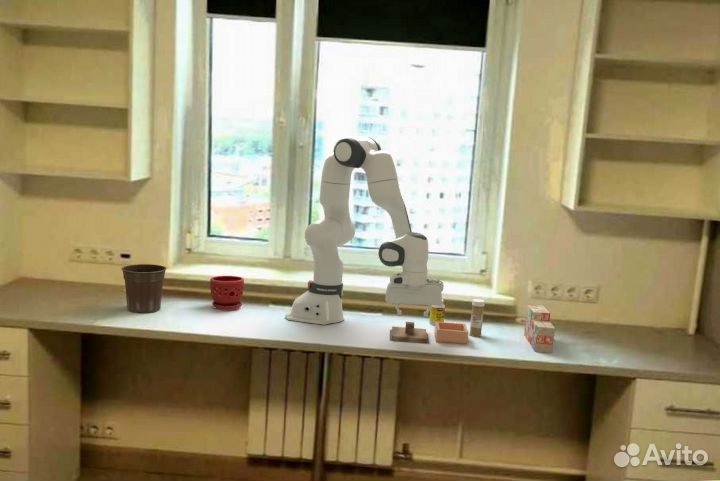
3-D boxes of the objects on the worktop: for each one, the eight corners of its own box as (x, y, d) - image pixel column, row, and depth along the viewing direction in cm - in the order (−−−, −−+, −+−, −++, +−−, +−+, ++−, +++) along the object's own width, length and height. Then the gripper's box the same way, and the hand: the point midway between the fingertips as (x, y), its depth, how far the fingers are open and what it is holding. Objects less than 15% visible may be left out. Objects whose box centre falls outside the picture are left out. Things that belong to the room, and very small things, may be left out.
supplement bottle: (435, 327, 270) (437, 301, 269) (426, 323, 275) (428, 298, 273) (446, 326, 273) (448, 300, 272) (437, 322, 278) (439, 297, 276)
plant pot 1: (111, 308, 267) (112, 266, 264) (146, 301, 280) (147, 261, 277) (139, 317, 257) (140, 274, 255) (174, 309, 271) (175, 268, 268)
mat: (389, 341, 248) (389, 340, 248) (389, 330, 262) (389, 329, 262) (429, 344, 248) (429, 343, 248) (427, 333, 261) (427, 332, 261)
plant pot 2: (248, 305, 284) (249, 276, 282) (234, 313, 272) (236, 282, 270) (217, 301, 287) (219, 273, 285) (203, 309, 274) (204, 279, 273)
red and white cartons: (552, 353, 248) (556, 319, 246) (534, 352, 248) (538, 318, 246) (540, 336, 269) (543, 304, 267) (523, 335, 269) (526, 303, 267)
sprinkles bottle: (467, 335, 262) (471, 300, 260) (470, 332, 267) (474, 298, 265) (480, 337, 261) (483, 302, 259) (482, 334, 265) (486, 299, 263)
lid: (391, 340, 249) (392, 326, 248) (391, 330, 261) (392, 317, 260) (427, 342, 248) (428, 329, 248) (425, 332, 261) (426, 319, 260)
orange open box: (436, 343, 250) (437, 329, 249) (434, 334, 261) (435, 321, 260) (467, 345, 250) (468, 332, 249) (464, 336, 260) (465, 323, 260)
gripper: (443, 278, 254) (441, 315, 256) (386, 275, 255) (384, 312, 257) (444, 281, 248) (442, 320, 250) (386, 278, 249) (384, 316, 250)
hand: (412, 316), depth 253 cm, fingers open, 8 cm apart
